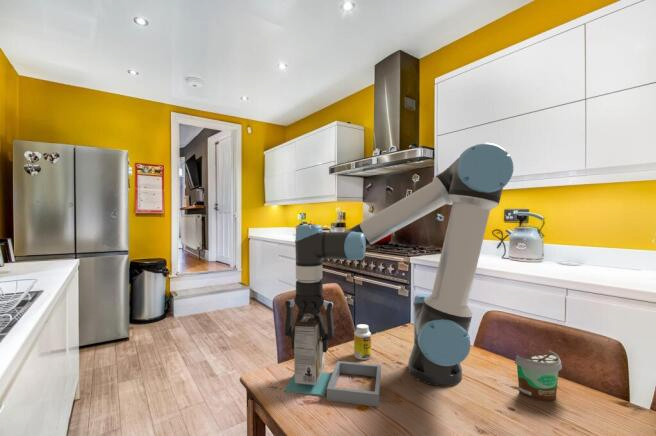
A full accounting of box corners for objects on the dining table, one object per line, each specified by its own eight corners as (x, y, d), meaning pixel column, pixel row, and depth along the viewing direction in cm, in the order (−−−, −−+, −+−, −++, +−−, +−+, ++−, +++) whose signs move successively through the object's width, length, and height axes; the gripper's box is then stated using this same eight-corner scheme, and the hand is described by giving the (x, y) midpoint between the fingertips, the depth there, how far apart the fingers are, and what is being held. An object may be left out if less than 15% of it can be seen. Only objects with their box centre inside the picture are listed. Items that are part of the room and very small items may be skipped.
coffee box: (303, 366, 90) (303, 313, 90) (324, 368, 89) (324, 314, 89) (293, 383, 81) (293, 323, 81) (317, 386, 80) (316, 325, 80)
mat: (332, 374, 89) (332, 373, 89) (324, 396, 79) (324, 394, 79) (296, 371, 92) (296, 369, 92) (284, 391, 81) (284, 389, 81)
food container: (536, 408, 74) (536, 366, 73) (514, 393, 79) (514, 355, 79) (574, 399, 77) (574, 360, 77) (550, 386, 83) (550, 349, 83)
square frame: (381, 375, 89) (381, 365, 89) (378, 406, 74) (378, 394, 74) (337, 370, 92) (337, 361, 92) (326, 400, 77) (326, 388, 77)
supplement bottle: (363, 362, 97) (363, 330, 97) (350, 356, 101) (350, 326, 101) (374, 356, 101) (374, 325, 101) (361, 351, 105) (361, 321, 105)
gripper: (345, 278, 87) (345, 358, 87) (281, 276, 91) (281, 353, 91) (340, 284, 79) (341, 372, 79) (271, 281, 83) (272, 364, 84)
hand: (309, 361), depth 85 cm, fingers closed on coffee box, 6 cm apart
